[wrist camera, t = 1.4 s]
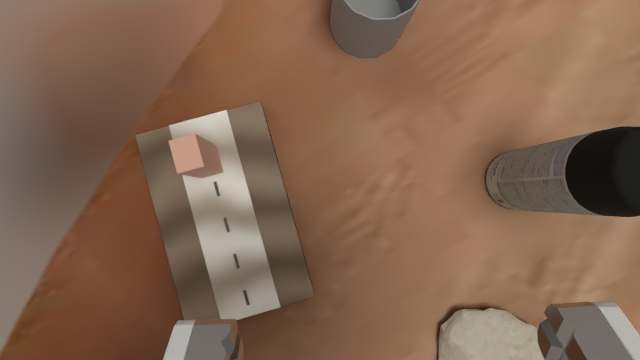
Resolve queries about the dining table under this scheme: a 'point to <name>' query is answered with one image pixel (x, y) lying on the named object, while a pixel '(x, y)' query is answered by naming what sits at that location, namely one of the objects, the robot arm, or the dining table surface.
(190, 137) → the stub
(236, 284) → the board with dashed strip
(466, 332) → the fragment
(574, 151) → the spray can
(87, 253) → the dining table surface
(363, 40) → the cup
